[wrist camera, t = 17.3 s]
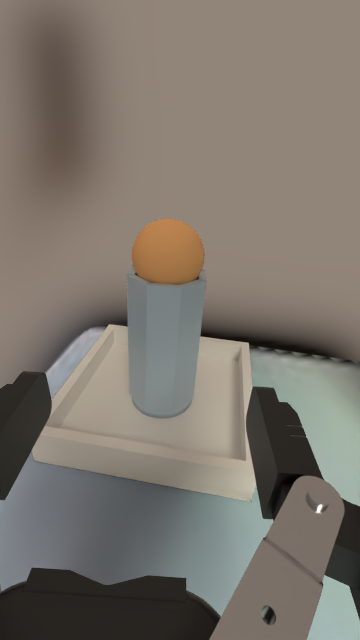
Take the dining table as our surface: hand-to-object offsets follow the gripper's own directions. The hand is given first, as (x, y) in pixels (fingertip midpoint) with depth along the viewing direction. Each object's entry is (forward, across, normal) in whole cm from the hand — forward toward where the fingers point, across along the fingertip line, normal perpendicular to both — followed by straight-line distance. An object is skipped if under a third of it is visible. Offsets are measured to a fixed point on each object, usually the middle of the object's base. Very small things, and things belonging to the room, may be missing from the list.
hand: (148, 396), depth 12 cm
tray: (+12, 0, +12) cm, 18 cm away
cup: (+12, 0, +12) cm, 17 cm away
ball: (+12, 0, -2) cm, 13 cm away
